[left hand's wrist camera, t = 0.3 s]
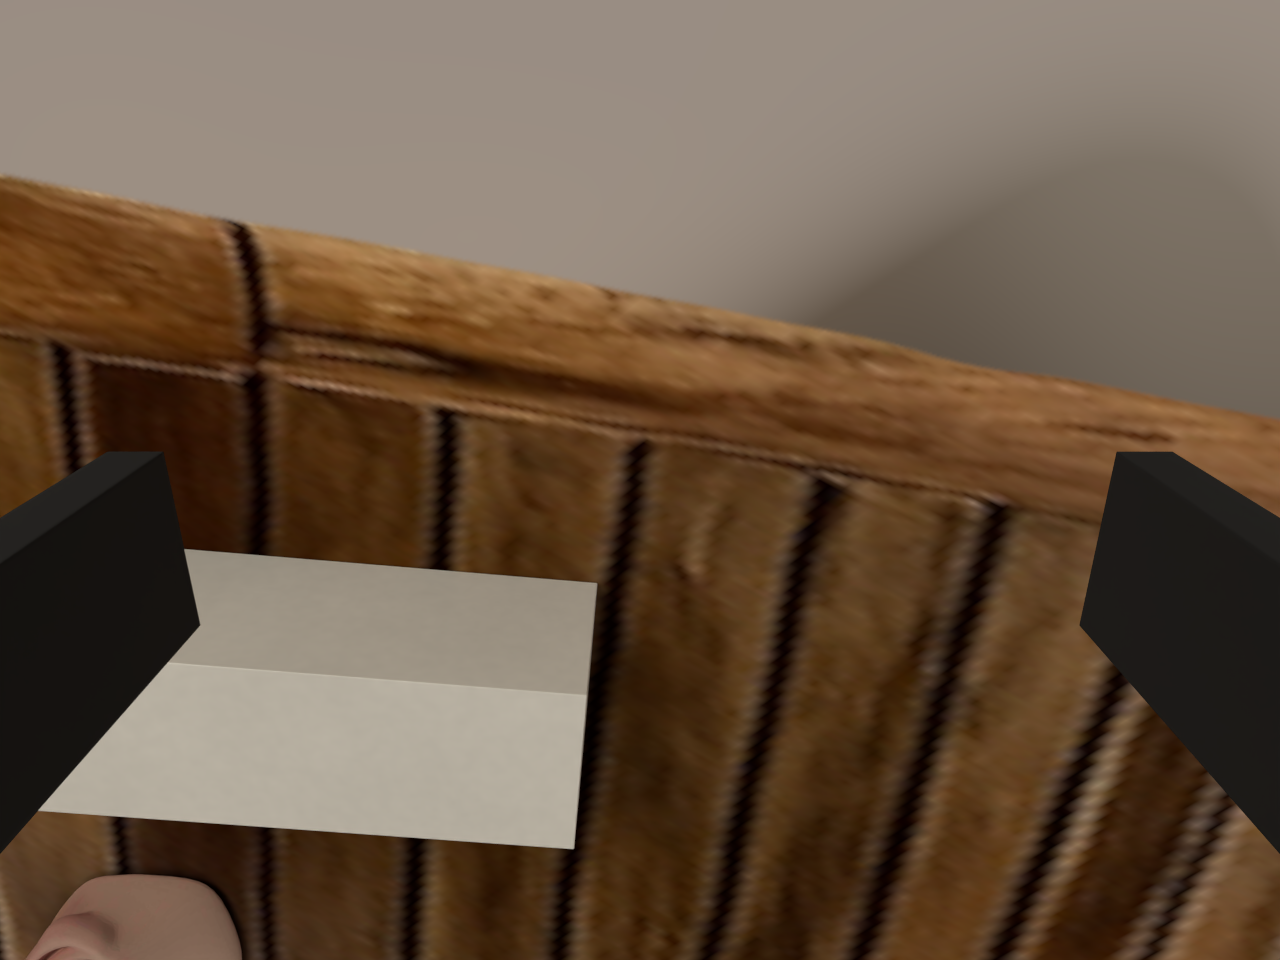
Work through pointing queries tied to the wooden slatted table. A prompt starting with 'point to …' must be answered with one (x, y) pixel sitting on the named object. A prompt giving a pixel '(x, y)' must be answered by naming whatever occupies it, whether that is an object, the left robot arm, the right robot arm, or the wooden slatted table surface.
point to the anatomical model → (140, 922)
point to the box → (359, 706)
